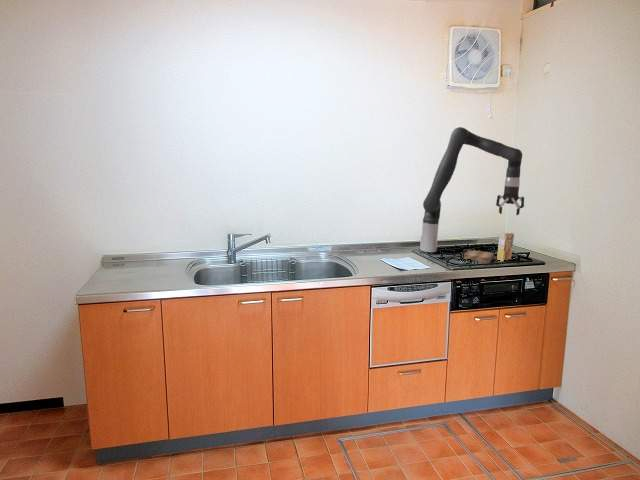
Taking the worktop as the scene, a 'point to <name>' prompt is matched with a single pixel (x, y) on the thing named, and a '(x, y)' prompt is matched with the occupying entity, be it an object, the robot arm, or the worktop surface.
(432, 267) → the worktop surface
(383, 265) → the worktop surface
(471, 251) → the walnut base
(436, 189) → the robot arm
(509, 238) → the candy box
